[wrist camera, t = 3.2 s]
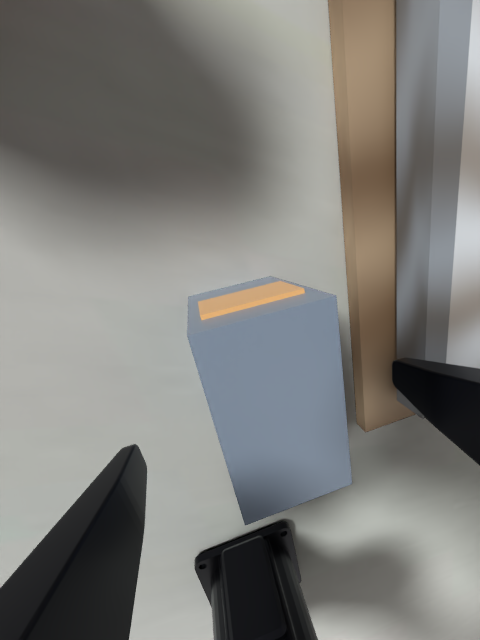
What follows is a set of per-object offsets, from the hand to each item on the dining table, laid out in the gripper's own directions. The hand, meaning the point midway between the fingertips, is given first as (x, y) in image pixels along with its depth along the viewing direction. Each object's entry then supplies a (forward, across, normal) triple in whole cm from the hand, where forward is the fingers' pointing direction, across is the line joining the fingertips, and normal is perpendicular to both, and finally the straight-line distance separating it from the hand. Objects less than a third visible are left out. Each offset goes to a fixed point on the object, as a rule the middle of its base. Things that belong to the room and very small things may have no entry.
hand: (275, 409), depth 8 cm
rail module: (+5, 0, 0) cm, 5 cm away
